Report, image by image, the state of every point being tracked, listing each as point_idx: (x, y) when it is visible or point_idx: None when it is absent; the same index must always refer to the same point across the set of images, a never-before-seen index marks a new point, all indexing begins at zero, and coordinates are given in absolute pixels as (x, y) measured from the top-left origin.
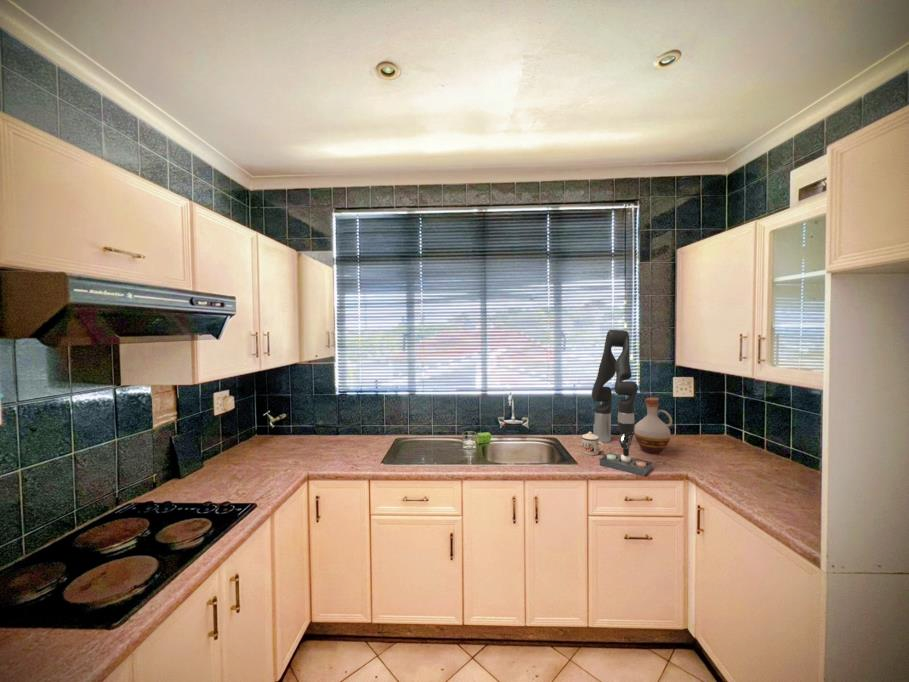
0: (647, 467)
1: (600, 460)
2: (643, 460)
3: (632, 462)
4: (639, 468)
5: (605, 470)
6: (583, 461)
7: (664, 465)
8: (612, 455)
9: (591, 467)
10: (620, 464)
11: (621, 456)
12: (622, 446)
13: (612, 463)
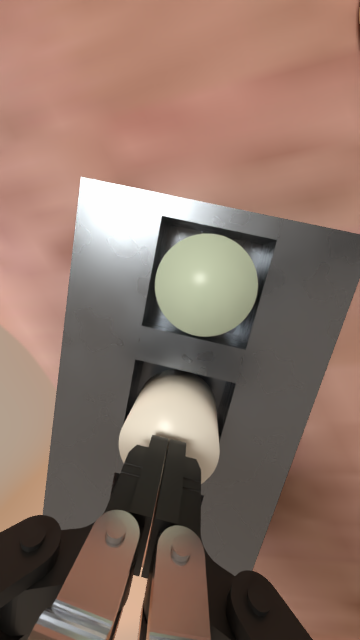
0: None
1: (84, 190)
2: (255, 540)
3: None
4: (51, 508)
5: (18, 261)
6: (119, 15)
7: (331, 603)
8: (213, 297)
9: (12, 139)
10: (59, 380)
11: (141, 406)
12: (4, 560)
13: (70, 311)
